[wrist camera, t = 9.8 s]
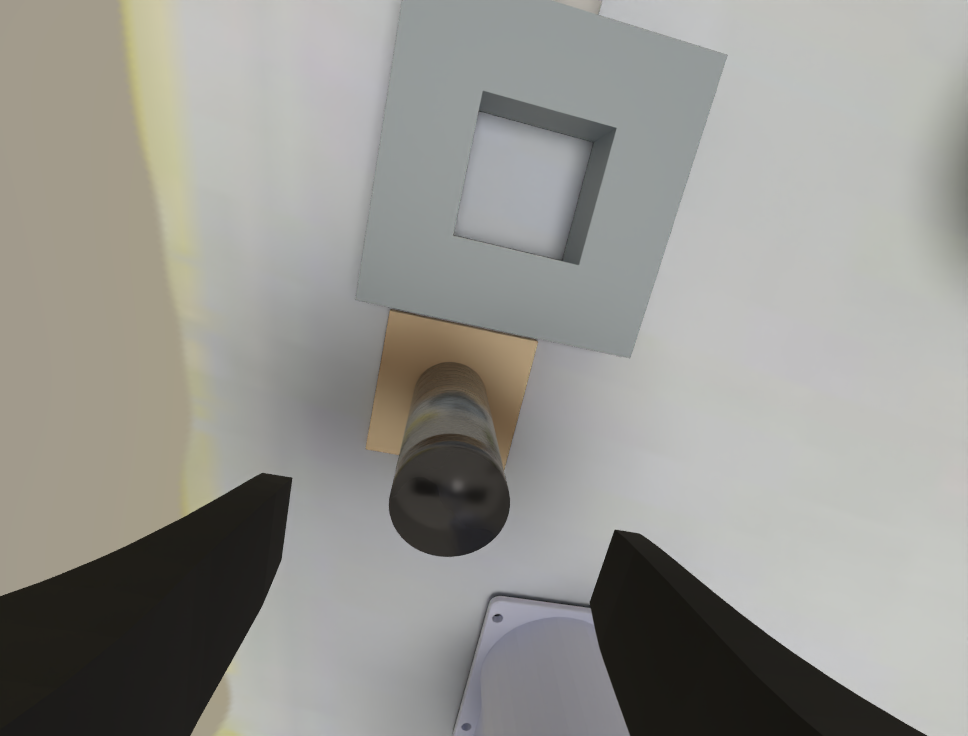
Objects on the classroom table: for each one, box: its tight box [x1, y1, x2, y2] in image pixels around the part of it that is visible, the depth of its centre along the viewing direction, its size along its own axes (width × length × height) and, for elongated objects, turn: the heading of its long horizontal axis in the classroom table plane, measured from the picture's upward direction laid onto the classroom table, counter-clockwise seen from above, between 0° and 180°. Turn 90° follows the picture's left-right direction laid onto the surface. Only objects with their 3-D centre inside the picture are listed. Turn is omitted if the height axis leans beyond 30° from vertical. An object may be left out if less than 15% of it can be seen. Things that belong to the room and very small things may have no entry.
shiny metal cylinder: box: [389, 362, 510, 557], centre depth 15 cm, size 3×3×8 cm
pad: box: [366, 309, 538, 469], centre depth 20 cm, size 6×6×1 cm
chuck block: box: [355, 0, 727, 358], centre depth 15 cm, size 20×10×2 cm, turn 167°
